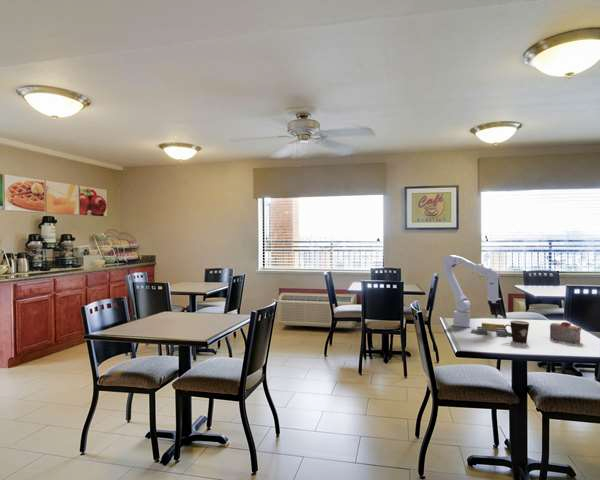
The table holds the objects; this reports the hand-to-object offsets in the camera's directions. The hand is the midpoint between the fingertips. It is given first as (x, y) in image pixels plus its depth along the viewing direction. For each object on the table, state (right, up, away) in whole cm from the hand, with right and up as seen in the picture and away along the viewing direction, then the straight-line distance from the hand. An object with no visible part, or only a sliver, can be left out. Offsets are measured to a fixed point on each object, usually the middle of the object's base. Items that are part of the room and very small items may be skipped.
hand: (493, 313), depth 235 cm
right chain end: (+1, -10, -12) cm, 16 cm away
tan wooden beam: (0, -10, 0) cm, 10 cm away
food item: (+27, -10, -23) cm, 37 cm away
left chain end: (-11, -9, -7) cm, 16 cm away
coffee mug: (0, -10, -25) cm, 27 cm away
